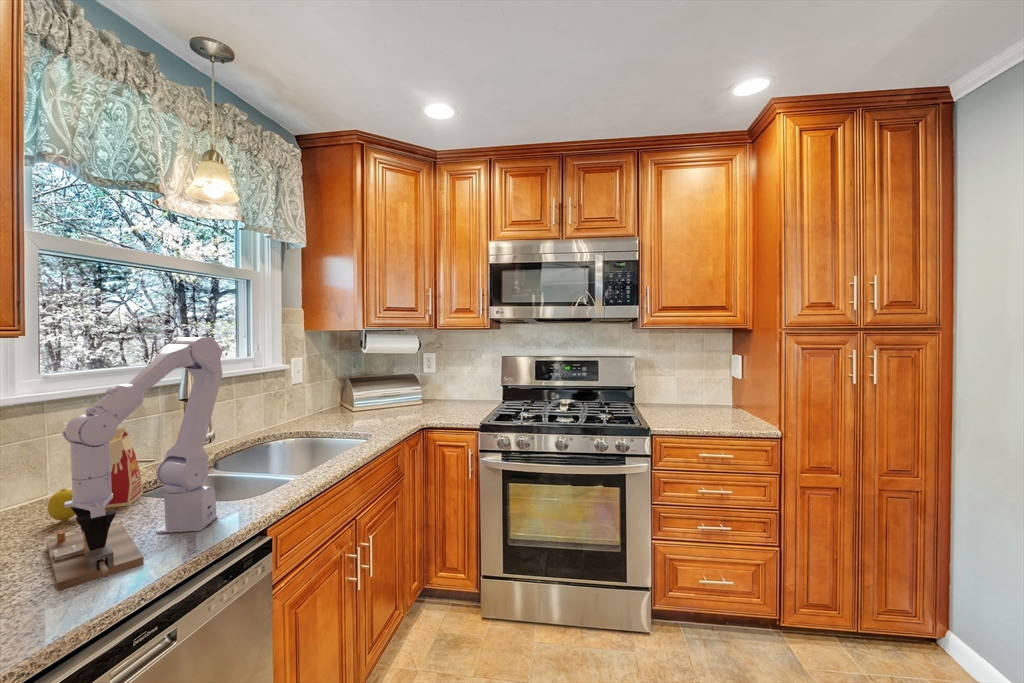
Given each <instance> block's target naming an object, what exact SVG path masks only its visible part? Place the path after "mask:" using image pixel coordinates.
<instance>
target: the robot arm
mask: <svg viewBox="0 0 1024 683" xmlns="http://www.w3.org/2000/svg"><path fill="white" fill-rule="evenodd" d="M222 354H223V349H222V348H221V346H220V345H219V343H218V342H217V340H215V339H214V338H212V337H210V336H209V337H208V336H202V337H201V336H200V337H188V336H178V337H175V338H174V339H172V340H171V341H170V343H168V344H167V345H165V346H163V348H162V349H161V351H160V352H159V354H158V355H156V357H155V358H154V359H152V360H151V362H150V363H148V364H147V365H146V366H145V367H144V368H143V370H141V371H140V372H139V373H138V374H137V375H136V376H135V377H134V378H133V379H132V380H131V381H130V382H129V383H128V384H119V385H116V386H115V387H109V388H108V389H107V390H106V391H105V395H104V396H103V397H102V398H101V399H100V400H99V401H97V402H95V404H94V405H93V406H89V407H87V408H86V409H84V412H85V414H81V415H77V416H75V417H73V418H72V419H70V420H69V421H68V423H67V424H66V428H64V429H65V430H63V431H62V436H63V438H64V439H65V441H67V443H69V444H70V466H71V467H70V468H71V490H72V496H73V500H71V501H67V502H65V503H64V506H65V507H66V508H68V507H71V509H72V510H73V511H74V513H75V516H76V517H75V521H76V522H77V524H78V525H79V526H80V529H81V532H82V533H83V531H84V533H85V537H86V541H87V545H88V548H89V550H90V551H92V550H96V549H99V548H103V547H105V544H106V540H107V535H108V531H109V527H110V525H112V522H113V520H114V518H116V515H117V511H116V509H113V510H108V511H106V508H105V507H106V505H107V504H108V503H109V502H110V501H111V499H112V498H113V493H112V489H111V463H110V440H111V439H113V438H114V436H115V434H116V432H117V429H118V427H119V425H121V424H122V423H123V422H124V421H125V420H126V419H127V418H129V416H130V415H131V414H132V413H133V412H134V411H136V410H137V409H138V408H139V407H140V406H141V405H142V404H143V403H144V395H145V393H147V392H148V391H149V390H151V388H153V387H154V386H155V385H156V384H157V383H159V382H160V381H161V380H162V379H164V378H165V377H166V376H167V375H169V374H170V373H171V372H172V371H174V370H175V369H180V368H185V369H186V370H187V371H188V372H189V374H190V376H192V378H193V383H192V386H191V387H190V388H191V390H190V392H189V396H188V400H187V404H186V406H185V409H184V412H183V417H182V421H181V424H180V428H179V432H178V435H177V439H176V442H175V444H174V445H173V446H171V448H169V449H168V450H167V451H166V452H165V456H164V458H163V460H162V461H161V462H160V464H158V466H157V469H156V479H157V480H158V482H159V483H161V484H162V486H163V497H164V498H163V499H164V500H163V502H164V525H163V526H161V527H159V528H158V529H157V530H155V533H156V534H161V533H162V534H163V533H184V532H199V531H202V530H203V529H204V528H206V527H207V526H208V525H210V524H211V523H212V522H213V521H215V520H216V519H217V518H218V517H219V514H217V500H216V490H215V488H214V487H213V486H209V485H208V486H207V485H204V483H206V480H207V479H208V477H209V472H210V471H209V465H208V464H209V458H210V456H209V453H207V451H206V449H205V448H204V445H205V441H206V437H207V435H208V430H209V427H210V423H211V419H212V416H213V411H214V408H215V404H216V401H217V397H218V393H219V390H220V386H221V382H222V378H223V369H222V367H223V366H222V361H221V358H222Z"/></svg>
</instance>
